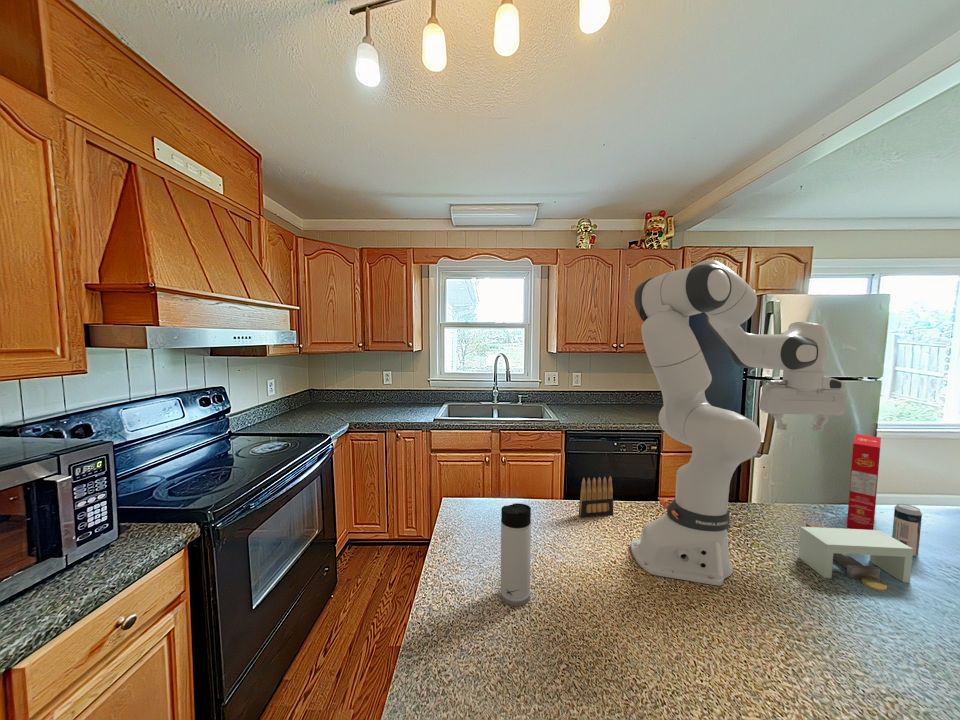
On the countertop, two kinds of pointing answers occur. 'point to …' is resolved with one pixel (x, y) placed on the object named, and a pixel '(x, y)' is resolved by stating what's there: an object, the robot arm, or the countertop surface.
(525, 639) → the countertop surface
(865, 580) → the brass disc
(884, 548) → the pale green bridge
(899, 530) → the beer can
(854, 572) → the scraper
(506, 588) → the travel mug
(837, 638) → the countertop surface
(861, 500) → the food packaging
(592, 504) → the ammunition clip
